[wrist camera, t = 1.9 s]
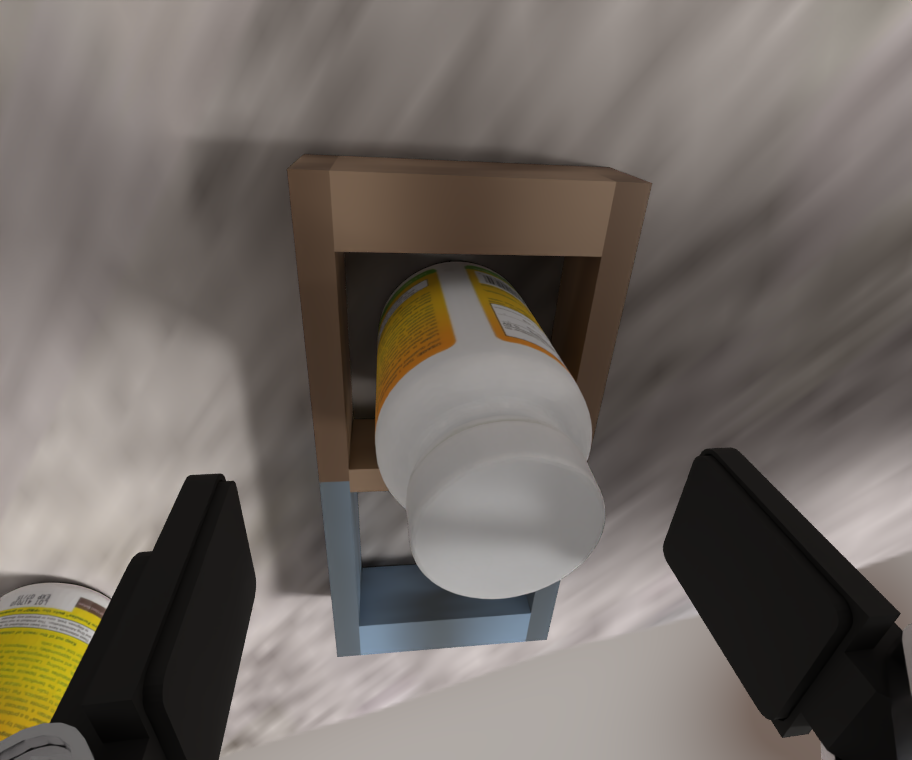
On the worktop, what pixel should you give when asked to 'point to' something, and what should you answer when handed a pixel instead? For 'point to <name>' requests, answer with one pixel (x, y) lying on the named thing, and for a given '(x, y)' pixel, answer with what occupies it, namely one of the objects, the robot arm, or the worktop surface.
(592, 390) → the slot rack
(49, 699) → the supplement bottle
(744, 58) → the worktop surface
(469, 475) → the supplement bottle
